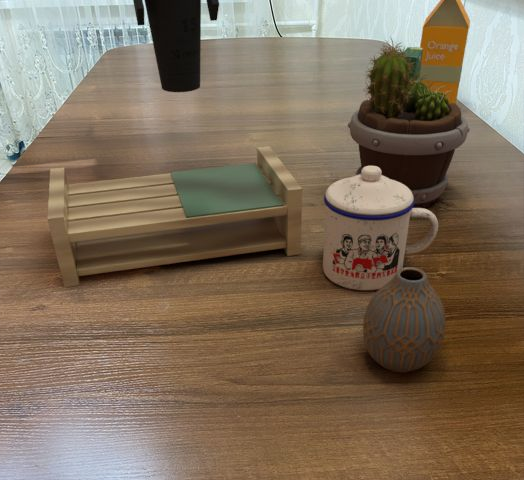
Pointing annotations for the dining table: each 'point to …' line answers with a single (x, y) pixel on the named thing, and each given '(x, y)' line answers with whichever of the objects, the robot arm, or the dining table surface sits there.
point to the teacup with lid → (369, 229)
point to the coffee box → (414, 60)
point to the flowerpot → (407, 128)
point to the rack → (173, 217)
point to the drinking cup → (176, 42)
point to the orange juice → (444, 47)
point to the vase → (404, 322)
